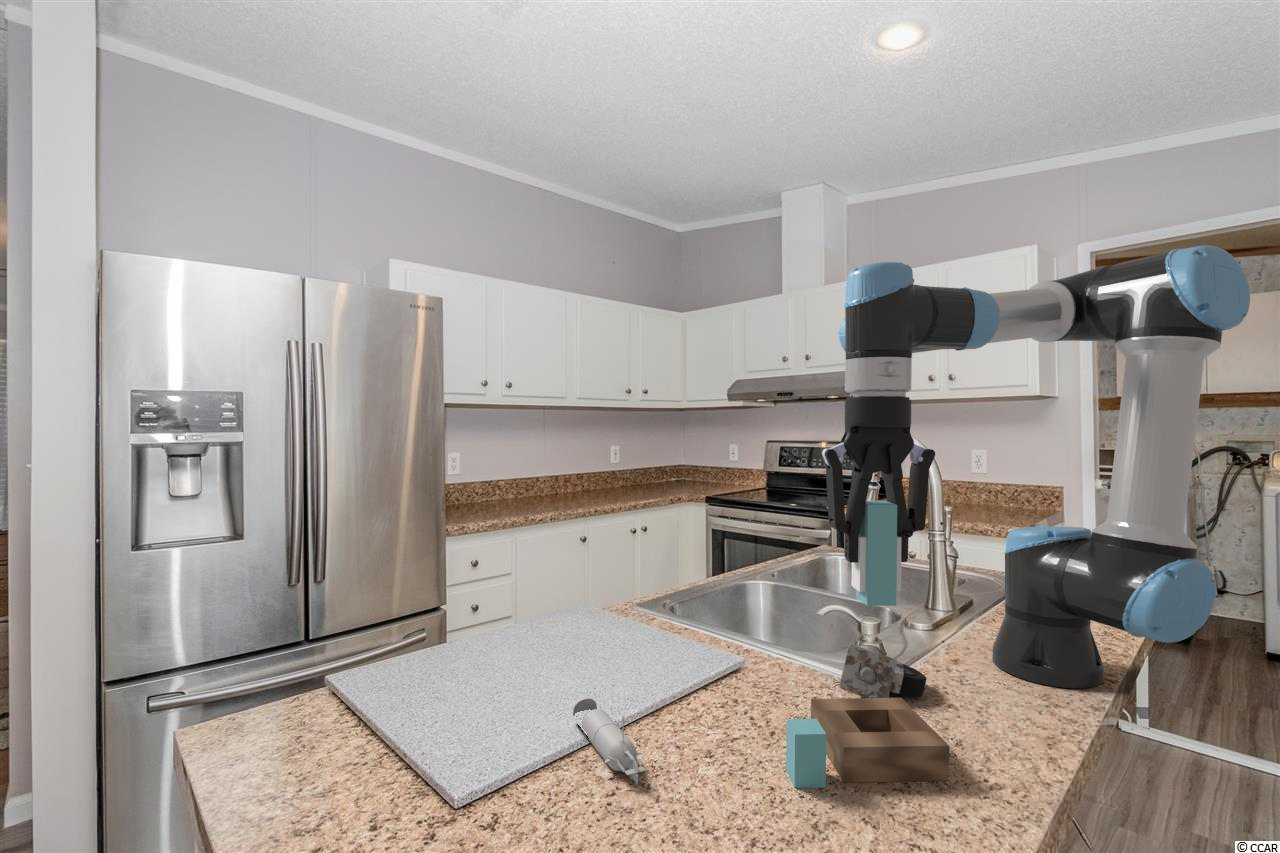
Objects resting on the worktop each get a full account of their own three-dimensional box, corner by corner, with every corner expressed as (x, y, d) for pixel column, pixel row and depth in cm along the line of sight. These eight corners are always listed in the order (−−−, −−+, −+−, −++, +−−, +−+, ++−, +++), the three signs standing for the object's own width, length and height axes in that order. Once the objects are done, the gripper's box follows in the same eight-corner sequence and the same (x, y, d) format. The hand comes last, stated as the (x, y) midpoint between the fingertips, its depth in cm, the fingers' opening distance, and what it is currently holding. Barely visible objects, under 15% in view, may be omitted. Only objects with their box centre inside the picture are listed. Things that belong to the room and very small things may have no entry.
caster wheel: (918, 700, 97) (920, 719, 88) (843, 673, 101) (838, 688, 92) (928, 658, 97) (932, 672, 88) (853, 632, 102) (849, 643, 92)
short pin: (815, 769, 74) (816, 718, 73) (825, 787, 70) (826, 733, 70) (786, 770, 73) (786, 719, 73) (794, 788, 70) (795, 734, 70)
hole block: (901, 727, 83) (901, 697, 83) (948, 780, 71) (949, 745, 71) (810, 729, 83) (811, 699, 83) (843, 782, 71) (843, 747, 71)
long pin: (883, 597, 78) (884, 500, 78) (896, 605, 75) (897, 504, 75) (856, 597, 78) (856, 500, 78) (867, 605, 75) (868, 504, 75)
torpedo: (563, 723, 85) (563, 674, 85) (596, 715, 87) (596, 668, 87) (618, 796, 69) (618, 736, 69) (656, 784, 71) (657, 727, 71)
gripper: (819, 394, 72) (817, 598, 73) (962, 394, 73) (959, 597, 73) (800, 395, 80) (799, 580, 80) (929, 396, 80) (927, 580, 81)
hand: (875, 588), depth 77 cm, fingers closed on long pin, 3 cm apart
